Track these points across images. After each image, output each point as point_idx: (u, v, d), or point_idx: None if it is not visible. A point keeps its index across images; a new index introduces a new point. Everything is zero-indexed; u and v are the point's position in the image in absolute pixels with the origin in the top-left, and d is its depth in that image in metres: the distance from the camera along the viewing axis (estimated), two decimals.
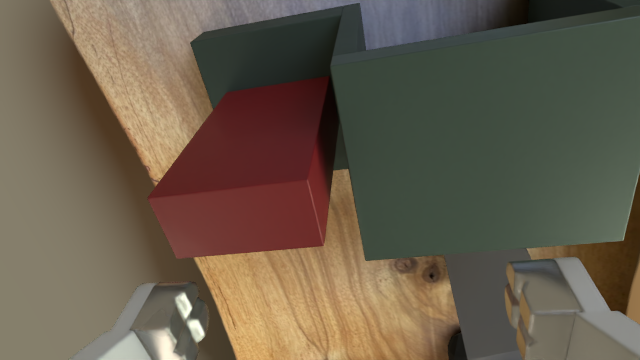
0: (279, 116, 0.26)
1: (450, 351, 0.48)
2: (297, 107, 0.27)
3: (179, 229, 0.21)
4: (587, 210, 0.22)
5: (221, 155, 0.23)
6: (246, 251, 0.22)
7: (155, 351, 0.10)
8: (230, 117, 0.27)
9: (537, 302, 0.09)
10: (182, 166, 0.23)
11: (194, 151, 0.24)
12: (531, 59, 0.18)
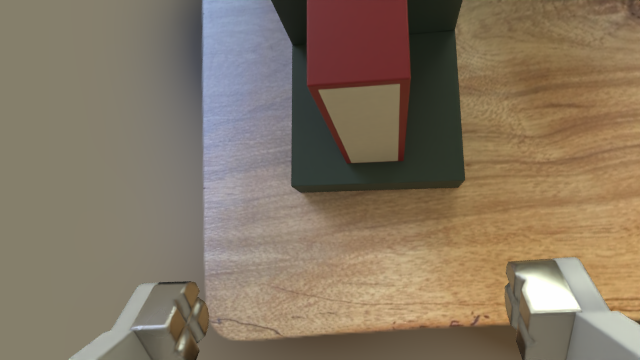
0: None
1: None
2: None
3: (358, 59, 0.16)
4: None
5: None
6: None
7: (155, 351, 0.10)
8: None
9: (537, 302, 0.09)
10: None
11: None
12: None
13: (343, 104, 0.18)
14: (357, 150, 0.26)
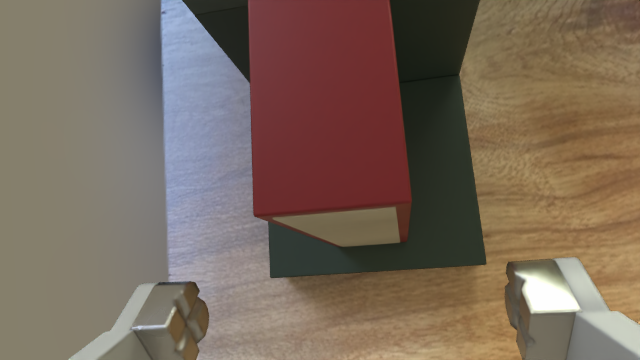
0: None
1: None
2: None
3: (329, 173, 0.11)
4: None
5: None
6: (390, 53, 0.11)
7: (155, 351, 0.10)
8: None
9: (537, 302, 0.09)
10: None
11: None
12: None
13: (315, 223, 0.13)
14: (347, 242, 0.20)
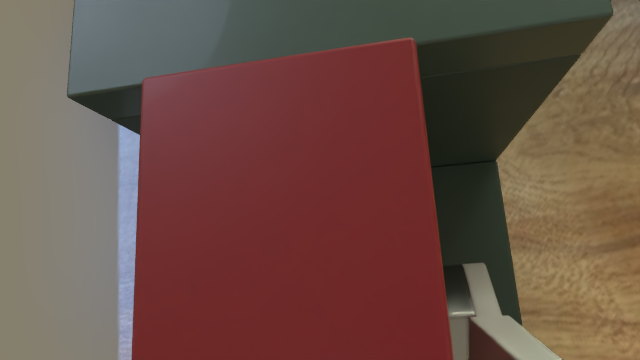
0: None
1: None
2: None
3: None
4: None
5: None
6: None
7: None
8: None
9: None
10: None
11: None
12: None
13: None
14: None
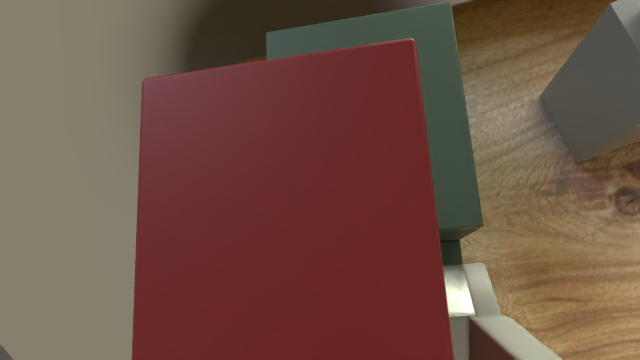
0: None
1: None
2: None
3: None
4: (416, 37, 0.26)
5: None
6: None
7: None
8: None
9: None
10: None
11: None
12: None
13: None
14: None
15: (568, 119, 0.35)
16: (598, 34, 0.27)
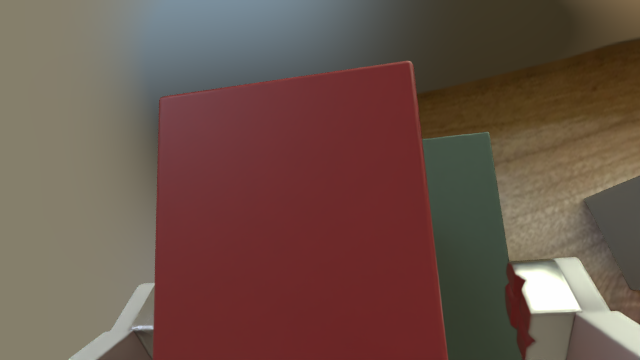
0: None
1: None
2: None
3: None
4: (442, 180, 0.19)
5: None
6: (438, 359, 0.05)
7: None
8: None
9: (537, 302, 0.09)
10: None
11: None
12: None
13: None
14: None
15: (624, 241, 0.28)
16: None
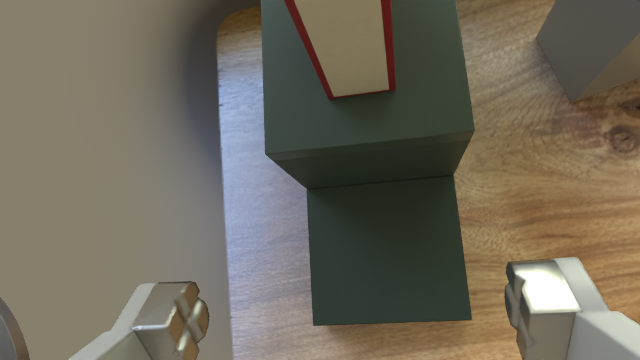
0: None
1: None
2: None
3: None
4: None
5: None
6: None
7: (155, 351, 0.10)
8: None
9: (537, 302, 0.09)
10: None
11: None
12: (278, 22, 0.27)
13: None
14: (336, 68, 0.21)
15: (563, 56, 0.35)
16: None
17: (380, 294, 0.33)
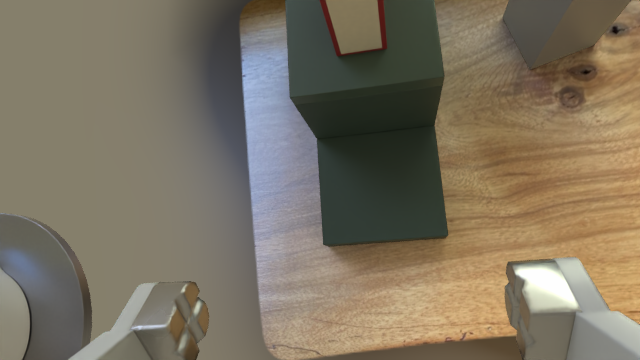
0: None
1: None
2: None
3: None
4: None
5: None
6: None
7: (155, 351, 0.10)
8: None
9: (537, 302, 0.09)
10: None
11: None
12: (298, 0, 0.36)
13: None
14: (344, 29, 0.30)
15: (522, 31, 0.43)
16: None
17: (376, 218, 0.42)
